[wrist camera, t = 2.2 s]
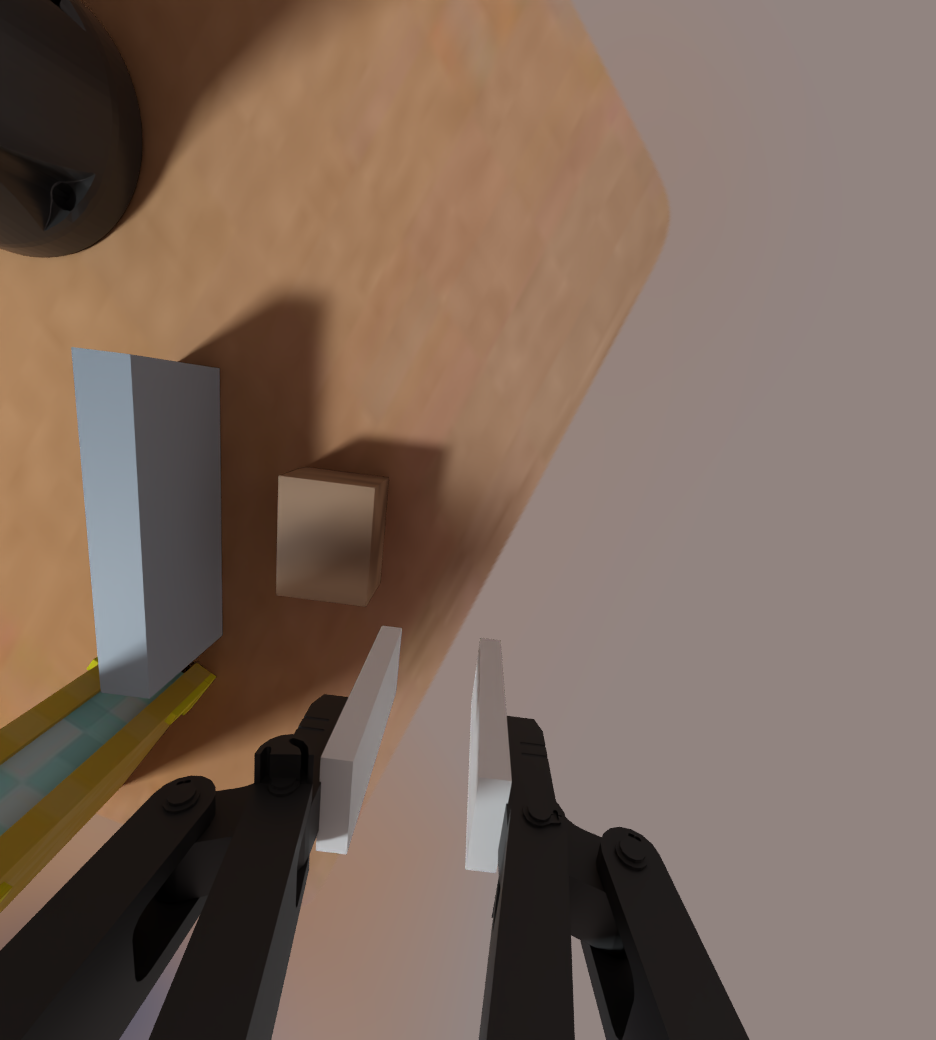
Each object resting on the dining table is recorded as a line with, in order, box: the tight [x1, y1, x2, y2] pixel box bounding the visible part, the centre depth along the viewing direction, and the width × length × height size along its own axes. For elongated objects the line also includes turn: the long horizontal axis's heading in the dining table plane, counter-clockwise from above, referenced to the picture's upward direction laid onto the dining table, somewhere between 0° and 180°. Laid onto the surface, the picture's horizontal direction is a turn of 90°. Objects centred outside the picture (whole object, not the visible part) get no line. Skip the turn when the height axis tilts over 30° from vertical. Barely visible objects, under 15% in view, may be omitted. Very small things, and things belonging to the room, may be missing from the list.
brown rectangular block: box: [276, 467, 389, 607], centre depth 31 cm, size 8×6×4 cm
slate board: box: [71, 347, 223, 699], centre depth 29 cm, size 20×3×8 cm, turn 173°
